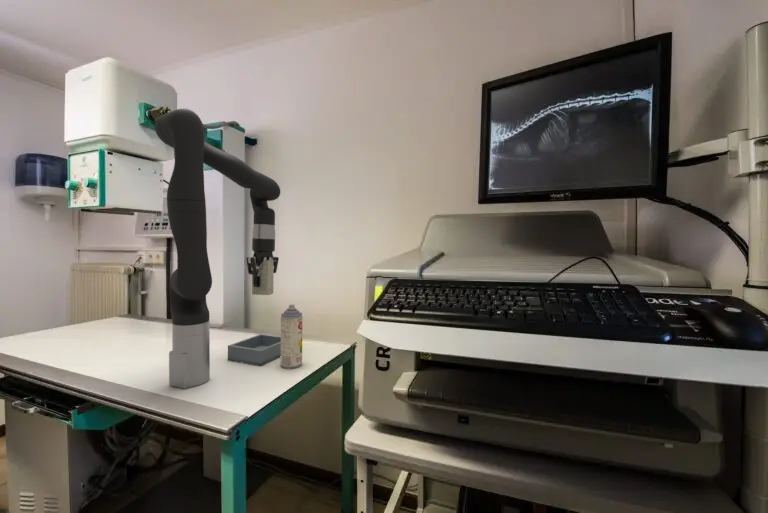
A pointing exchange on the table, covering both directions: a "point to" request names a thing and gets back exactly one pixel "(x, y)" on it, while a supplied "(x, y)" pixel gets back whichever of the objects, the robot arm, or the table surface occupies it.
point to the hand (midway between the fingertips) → (262, 286)
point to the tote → (256, 350)
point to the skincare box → (264, 279)
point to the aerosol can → (291, 338)
